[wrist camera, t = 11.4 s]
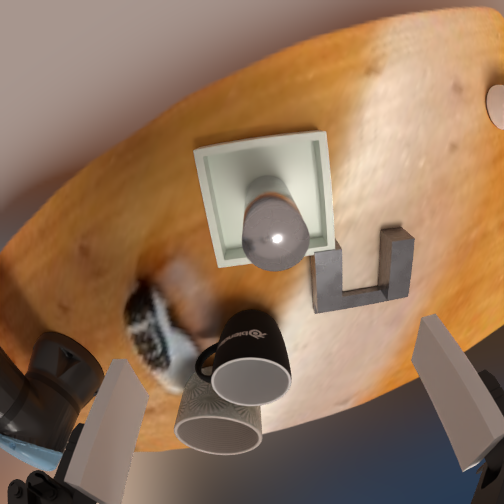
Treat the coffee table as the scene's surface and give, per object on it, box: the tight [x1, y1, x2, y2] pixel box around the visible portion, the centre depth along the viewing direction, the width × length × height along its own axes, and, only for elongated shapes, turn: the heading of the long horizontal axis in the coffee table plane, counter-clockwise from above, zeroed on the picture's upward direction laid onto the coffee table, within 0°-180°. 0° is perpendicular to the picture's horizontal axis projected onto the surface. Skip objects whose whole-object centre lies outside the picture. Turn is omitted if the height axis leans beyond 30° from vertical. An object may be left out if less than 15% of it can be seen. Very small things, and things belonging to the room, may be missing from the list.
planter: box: [174, 366, 262, 455], centre depth 40 cm, size 12×12×11 cm
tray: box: [193, 130, 335, 268], centre depth 30 cm, size 13×13×3 cm
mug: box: [195, 310, 291, 406], centre depth 35 cm, size 12×9×10 cm
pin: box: [242, 175, 310, 271], centre depth 25 cm, size 5×5×12 cm
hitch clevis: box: [310, 227, 415, 314], centre depth 34 cm, size 12×10×4 cm
